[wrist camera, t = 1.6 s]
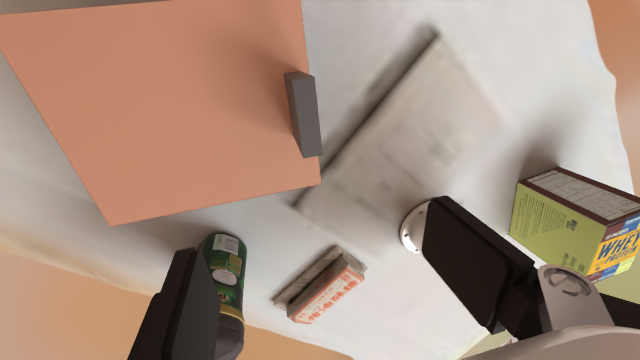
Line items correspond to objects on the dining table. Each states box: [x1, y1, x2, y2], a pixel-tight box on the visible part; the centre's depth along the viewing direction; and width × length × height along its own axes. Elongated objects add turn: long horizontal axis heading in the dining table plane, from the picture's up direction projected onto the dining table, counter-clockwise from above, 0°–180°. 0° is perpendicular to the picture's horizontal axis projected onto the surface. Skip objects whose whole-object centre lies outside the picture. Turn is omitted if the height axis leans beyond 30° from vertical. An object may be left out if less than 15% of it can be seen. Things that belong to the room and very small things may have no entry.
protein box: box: [509, 167, 640, 284], centre depth 50 cm, size 10×15×16 cm
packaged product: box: [274, 246, 367, 324], centre depth 51 cm, size 18×5×10 cm
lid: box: [0, 0, 323, 227], centre depth 21 cm, size 22×18×7 cm
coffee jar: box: [196, 234, 247, 360], centre depth 36 cm, size 10×8×19 cm
